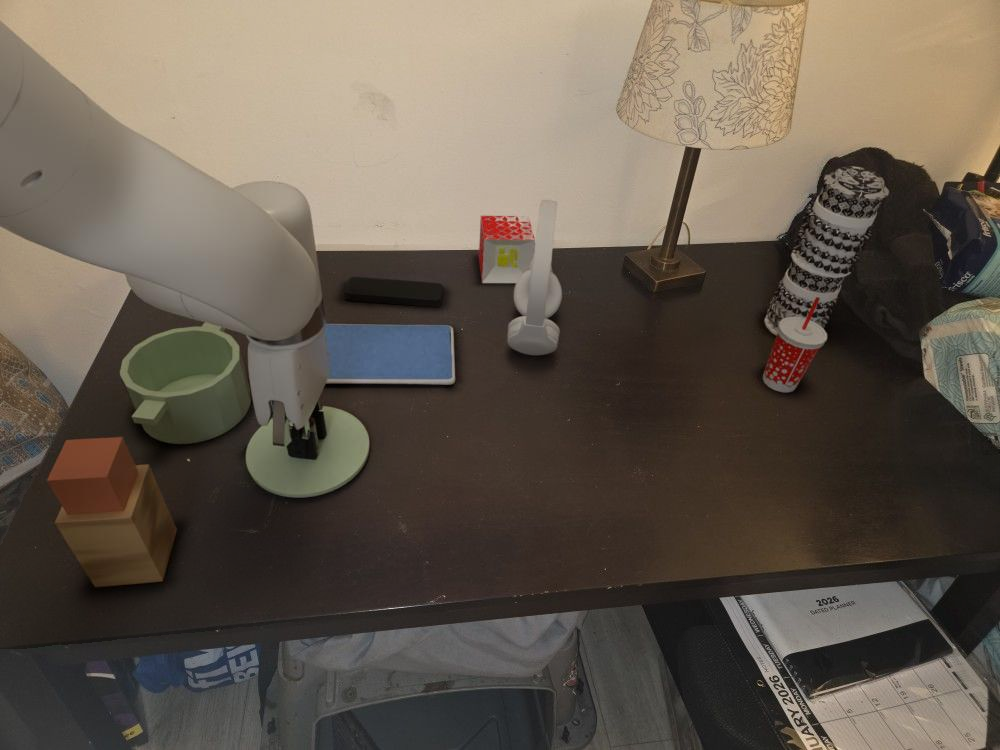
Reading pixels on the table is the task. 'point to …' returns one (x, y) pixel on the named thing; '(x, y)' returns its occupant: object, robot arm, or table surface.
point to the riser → (124, 537)
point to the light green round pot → (187, 384)
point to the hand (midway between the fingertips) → (308, 445)
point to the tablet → (390, 354)
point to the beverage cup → (793, 351)
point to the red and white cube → (505, 248)
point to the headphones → (538, 293)
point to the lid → (304, 476)
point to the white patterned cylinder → (828, 245)
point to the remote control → (394, 291)
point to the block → (93, 475)
